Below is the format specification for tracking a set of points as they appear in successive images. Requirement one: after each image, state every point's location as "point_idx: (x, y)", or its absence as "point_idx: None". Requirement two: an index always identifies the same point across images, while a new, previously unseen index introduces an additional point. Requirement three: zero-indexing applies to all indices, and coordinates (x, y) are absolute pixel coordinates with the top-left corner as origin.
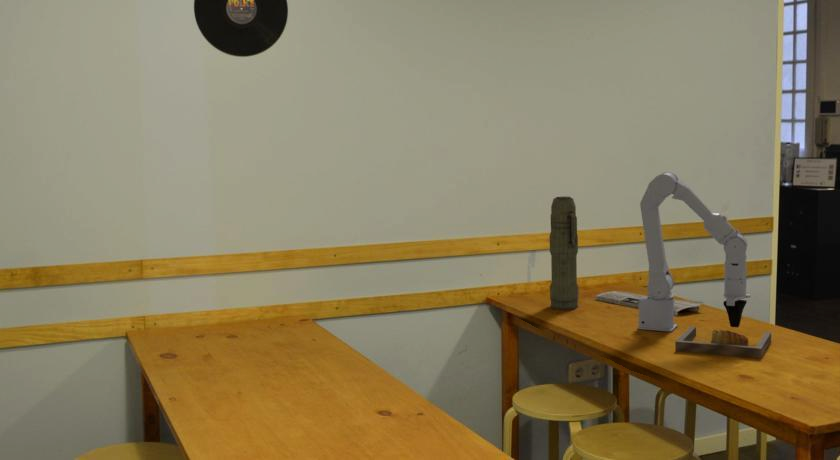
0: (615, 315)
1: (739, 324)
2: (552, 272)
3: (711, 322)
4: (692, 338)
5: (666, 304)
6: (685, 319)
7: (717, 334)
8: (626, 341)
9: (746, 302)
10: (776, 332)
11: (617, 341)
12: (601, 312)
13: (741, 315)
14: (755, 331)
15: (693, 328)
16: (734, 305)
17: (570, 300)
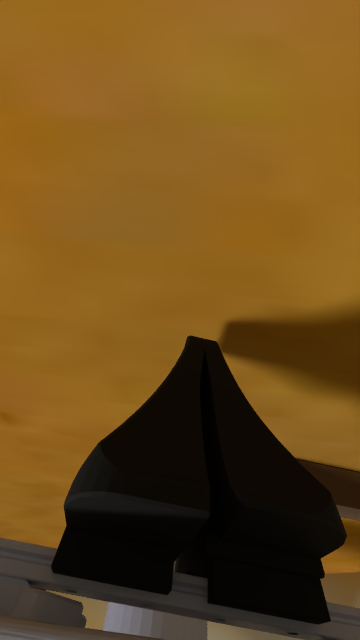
0: (57, 535)
1: (198, 343)
2: None
3: (23, 395)
4: (333, 470)
5: (201, 628)
6: (21, 450)
7: None
8: None
9: (148, 477)
10: (146, 18)
11: (324, 560)
12: (41, 543)
13: (181, 376)
14: (148, 220)
15: None
16: None
17: (34, 588)
